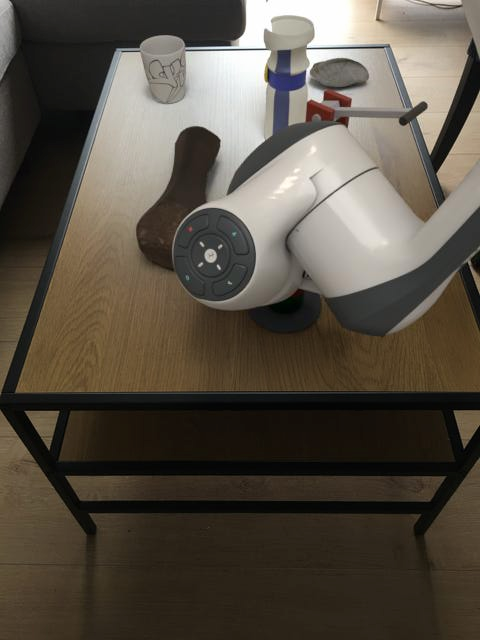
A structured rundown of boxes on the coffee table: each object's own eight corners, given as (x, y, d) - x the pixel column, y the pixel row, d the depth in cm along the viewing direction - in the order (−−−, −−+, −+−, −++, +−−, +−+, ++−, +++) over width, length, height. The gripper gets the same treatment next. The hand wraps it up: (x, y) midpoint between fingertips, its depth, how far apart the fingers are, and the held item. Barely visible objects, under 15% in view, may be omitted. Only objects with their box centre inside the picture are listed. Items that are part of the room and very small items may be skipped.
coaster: (324, 282, 75) (325, 279, 75) (317, 339, 69) (317, 336, 69) (254, 273, 77) (254, 270, 76) (240, 328, 71) (240, 325, 70)
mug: (157, 77, 113) (149, 27, 105) (196, 79, 112) (191, 29, 105) (143, 106, 106) (134, 54, 98) (185, 108, 105) (179, 56, 97)
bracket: (363, 185, 89) (379, 100, 77) (330, 211, 85) (341, 126, 73) (311, 159, 94) (318, 76, 82) (277, 183, 90) (280, 99, 78)
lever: (428, 114, 71) (427, 96, 70) (407, 130, 69) (406, 112, 67) (332, 112, 82) (329, 96, 80) (311, 126, 80) (308, 110, 78)
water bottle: (255, 145, 97) (254, -8, 77) (269, 120, 102) (271, -30, 82) (299, 153, 95) (310, -2, 75) (311, 127, 100) (324, -25, 80)
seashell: (366, 73, 112) (370, 48, 108) (368, 93, 107) (372, 68, 103) (308, 71, 113) (310, 47, 109) (308, 92, 108) (310, 67, 104)
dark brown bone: (193, 290, 78) (211, 188, 98) (225, 238, 71) (238, 140, 91) (121, 260, 75) (156, 161, 95) (148, 203, 68) (179, 110, 88)
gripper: (371, 256, 52) (376, 260, 65) (179, 209, 57) (220, 222, 70) (354, 319, 53) (362, 311, 66) (166, 267, 58) (209, 269, 71)
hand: (288, 265), depth 68 cm, fingers open, 5 cm apart
